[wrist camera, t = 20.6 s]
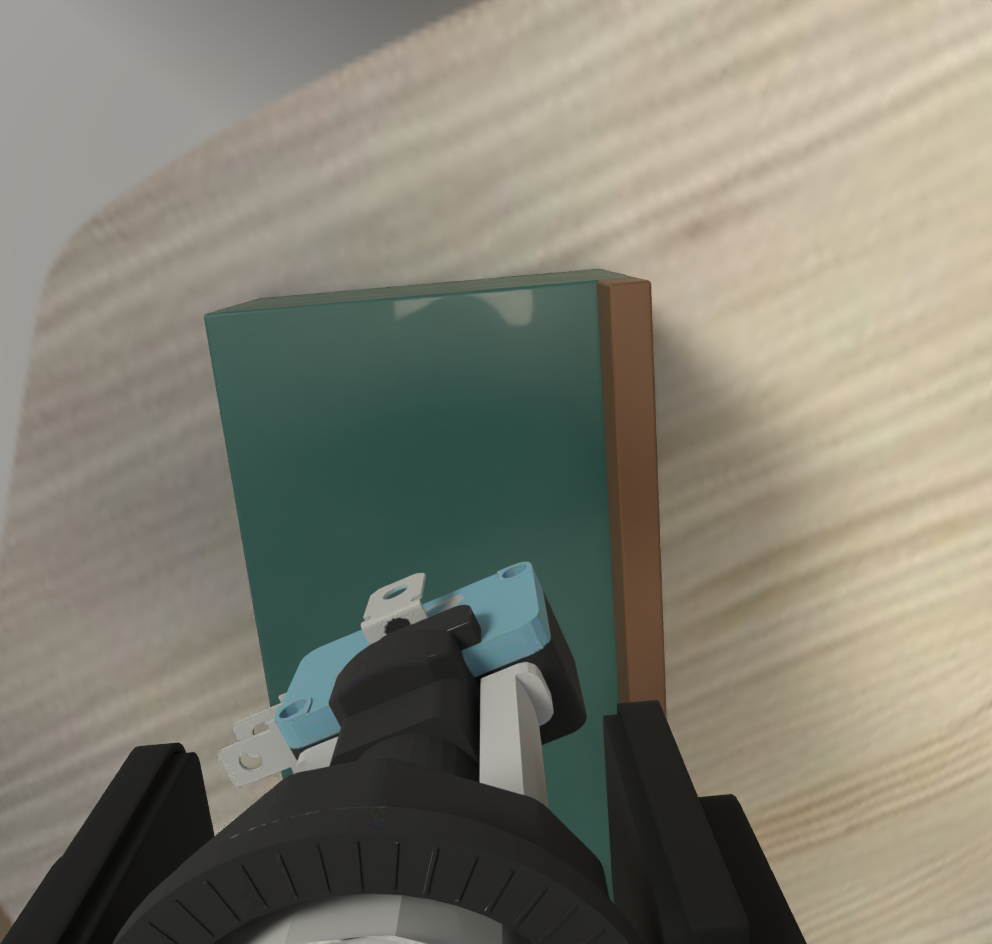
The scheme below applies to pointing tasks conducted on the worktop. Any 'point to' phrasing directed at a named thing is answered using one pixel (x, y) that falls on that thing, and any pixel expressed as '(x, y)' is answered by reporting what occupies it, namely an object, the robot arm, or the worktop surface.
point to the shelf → (455, 474)
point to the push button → (404, 791)
